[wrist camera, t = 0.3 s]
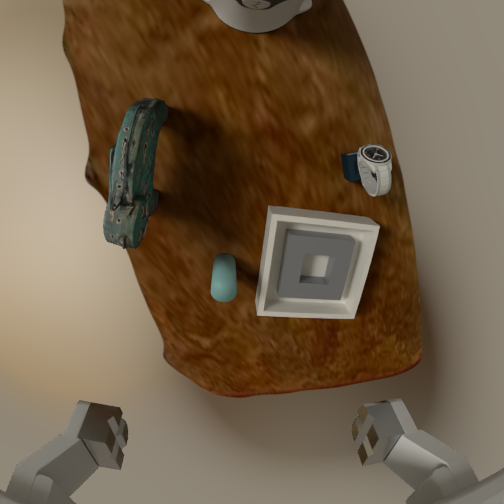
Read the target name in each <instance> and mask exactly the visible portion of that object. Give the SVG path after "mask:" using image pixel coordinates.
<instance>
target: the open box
mask: <svg viewBox="0 0 504 504" xmlns="http://www.w3.org/2000/svg"><path fill="white" fill-rule="evenodd" d="M379 228H380V226H379V225H378V224H377V223H375V222H374V221H373V220H372V219H370V218H369V217H362V216H355V215H347V214H339V213H331V212H323V211H314V210H306V209H297V208H288V207H278V206H268V213H267V220H266V227H265V235H264V242H263V249H262V257H261V264H260V271H259V278H258V285H257V292H256V300H255V302H256V310H257V315H259V316H278V317H302V318H339V319H354V317H355V314H356V311H357V308H358V304H359V301H360V298H361V295H362V291H363V288H364V284H365V281H366V278H367V274H368V271H369V267H370V263H371V260H372V256H373V252H374V248H375V244H376V241H377V237H378V232H379Z"/></svg>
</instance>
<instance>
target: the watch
mask: <svg viewBox="0 0 504 504" xmlns="http://www.w3.org/2000/svg"><path fill="white" fill-rule="evenodd" d="M341 158H342V165H343V172H344V178H345V179H347V180H349V181H350V182H351V181H357V180H361V182H362V185H363V186H364V188H365V189H366V191H367V192H368V194H369V195H372V196H379V195H384V194H387V193H388V192H389V190H390V187H391V171H392V163H391V158H392V155H391V153H390V151H389V150H388V149H386V148H385V147H383V146H380V145H376V144H368V145H365V146H363V147H361V148H359V151H358V152H351V153H345V154H341ZM374 177H377V182H378V183H377V182H376V180H375V178H374Z"/></svg>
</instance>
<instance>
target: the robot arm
mask: <svg viewBox="0 0 504 504" xmlns="http://www.w3.org/2000/svg"><path fill="white" fill-rule="evenodd" d="M203 1H205V2H206V3H208V4H210V5H211V6H212V8H213V9H214V11H215V13H216V14H217V16H218V17H219V18H220V19H221V20H222V21H223V22H225V23H226V24H228V25H229V26H231V27H233V28H235V29H238V30H241V31H245V32H253V33H261V32H268V31H272V30H275V29H277V28H280V27H281V26H283V25H285V24H286V23H287V22H289V21H290V20H291V19H292V18H293V17H294V16H295V15H297V14H300V13H303V12H306V11H308V10H309V9H310V8H311V6H312V0H203ZM122 414H123V413H122V411H121V409H120V407H115V406H108V405H103V404H97V403H92V402H87V401H81V400H79V401H78V402H77V404H76V406H75V408H74V410H73V413H72V415H71V418H70V420H69V423H68V425H67V428H66V430H65V433H64V435H62V434H60V435H58V436H57V437H55V438H54V439H53V440H51V441H50V442H48V443H47V444H45V445H44V446H43V447H41V448H40V449H38V450H37V451H35V452H34V453H32V454H31V455H30V456H28V457H27V458H25V459H24V460H23V461H21V462H19V463H18V464H17V465H16V467H15V470H14V472H13V475H12V477H11V480H10V482H9V485H8V488H7V490H6V492H4V491H2V490H0V504H76V503H75V502H73V501H72V499H71V498H69V496H70V495H72V494H73V493H74V491H76V489H78V488H79V487H80V486H81V485H82V484H83V483H84V482H85V481H86V480H87V479H88V478H89V477H90V476H91V475H92V474H93V473H94V472H95V471H96V470H97V469H98V466H100V467H106V468H112V469H118V470H121V467H122V462H123V457H124V454H123V452H122V450H121V449H122V448H123V447H125V446H126V445H127V440H128V427H127V423H126V421H125V420H124V419H122V418H121V417H122ZM358 414H359V416H357V417H356V418H355V419H354V421H353V424H352V436H353V439H354V442H355V443H356V444H358V445H359V446H360V447H359V450H358V454H359V457H360V460H361V463H362V466H364V465H370V464H375V463H380V462H384V464H385V465H386V466H388V467H389V468H390V469H391V470H392V471H393V472H394V473H396V474H397V475H398V476H399V477H401V479H403V480H404V481H405V482H406V483H407V484H409V485H410V486H411V487H412V488H413V489H414V490H415V491H414V492H413V493H412V494H411V496H409V497H408V499H407V500H406V504H504V468H503V469H501V470H500V471H498V472H496V473H494V474H492V475H491V476H489V477H487V478H485V479H483V480H481V481H478V479H477V477H476V475H475V473H474V471H473V469H472V467H471V466H470V463H469V462H468V460H467V458H466V456H464V455H462V454H460V453H459V452H457V451H455V450H454V449H452V448H450V447H449V446H447V445H445V444H444V443H442V442H440V441H439V440H437V439H435V438H434V437H432V436H430V435H429V434H427V433H426V432H424V431H423V430H417V428H416V426H415V424H414V422H413V420H412V418H411V416H410V414H409V412H408V410H407V408H406V407H405V405H404V403H403V401H402V400H401V399H400V398H398V399H393V400H388V401H380V402H375V403H369V404H363V405H361V406H360V407H359V409H358Z"/></svg>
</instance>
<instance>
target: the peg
mask: <svg viewBox="0 0 504 504" xmlns="http://www.w3.org/2000/svg"><path fill="white" fill-rule="evenodd" d="M236 293H237V284H236V261H235V259H234V257H233V256H232V255H230V254H227V253H222V254H219V255H218V256H217V257H216V258H215V259H214V265H213V274H212V284H211V294H212V296H213V298H214V299H216V300H217V301H220V302H228V301H231V300H232V299H233V298H234V297H235V296H236Z"/></svg>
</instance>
